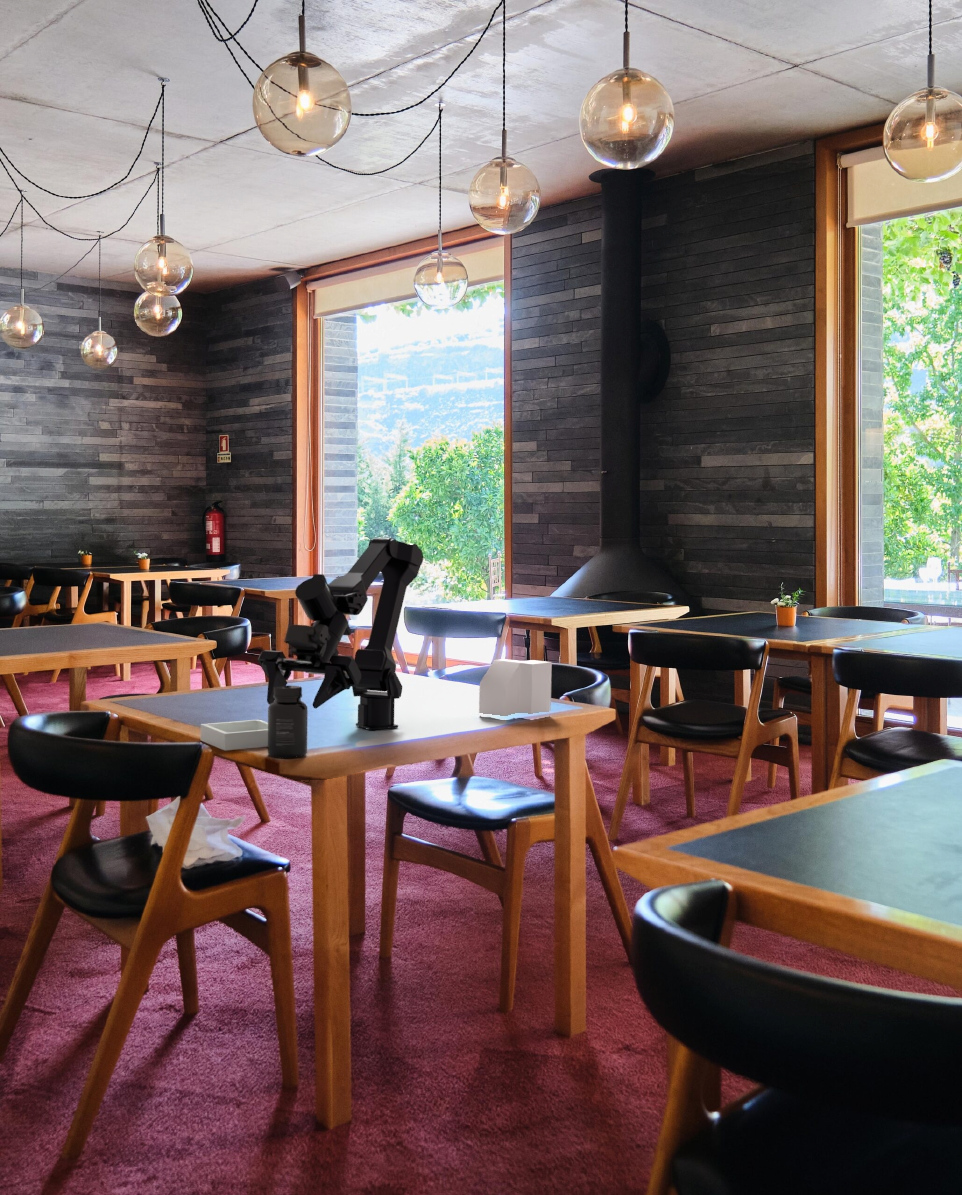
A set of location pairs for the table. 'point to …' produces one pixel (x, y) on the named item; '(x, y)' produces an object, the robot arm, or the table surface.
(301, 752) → the supplement bottle
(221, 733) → the tray
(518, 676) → the white chamfered block
